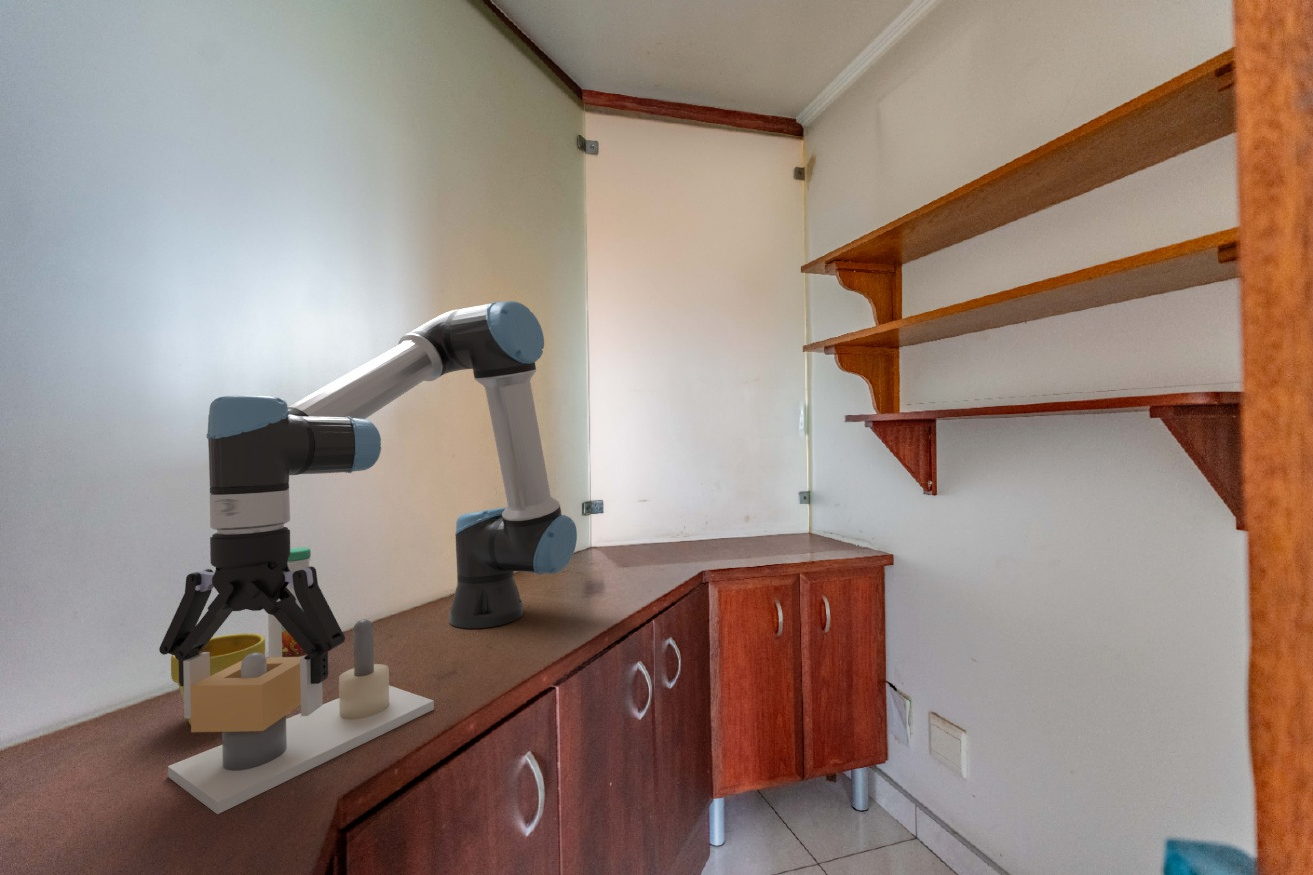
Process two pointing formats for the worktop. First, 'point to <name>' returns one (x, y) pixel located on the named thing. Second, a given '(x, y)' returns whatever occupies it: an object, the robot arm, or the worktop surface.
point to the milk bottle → (278, 635)
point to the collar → (246, 697)
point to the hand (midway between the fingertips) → (254, 711)
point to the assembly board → (300, 732)
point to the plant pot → (224, 653)
